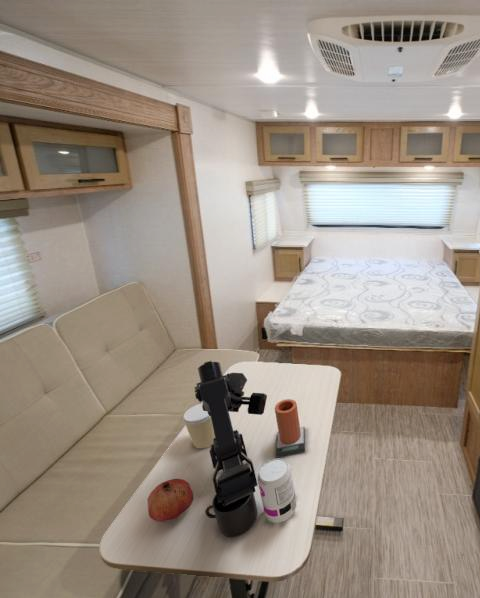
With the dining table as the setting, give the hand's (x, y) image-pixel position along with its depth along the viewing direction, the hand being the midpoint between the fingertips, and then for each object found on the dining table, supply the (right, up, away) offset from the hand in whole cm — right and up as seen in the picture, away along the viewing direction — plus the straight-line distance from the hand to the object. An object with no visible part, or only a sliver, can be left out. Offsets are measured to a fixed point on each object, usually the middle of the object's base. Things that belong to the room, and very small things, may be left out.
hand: (247, 405), depth 113 cm
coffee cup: (-16, -13, +4) cm, 21 cm away
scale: (+14, -14, +2) cm, 20 cm away
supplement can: (+18, -23, -19) cm, 35 cm away
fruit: (-11, -23, -20) cm, 32 cm away
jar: (+13, -12, +2) cm, 18 cm away
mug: (+6, -24, -22) cm, 33 cm away
